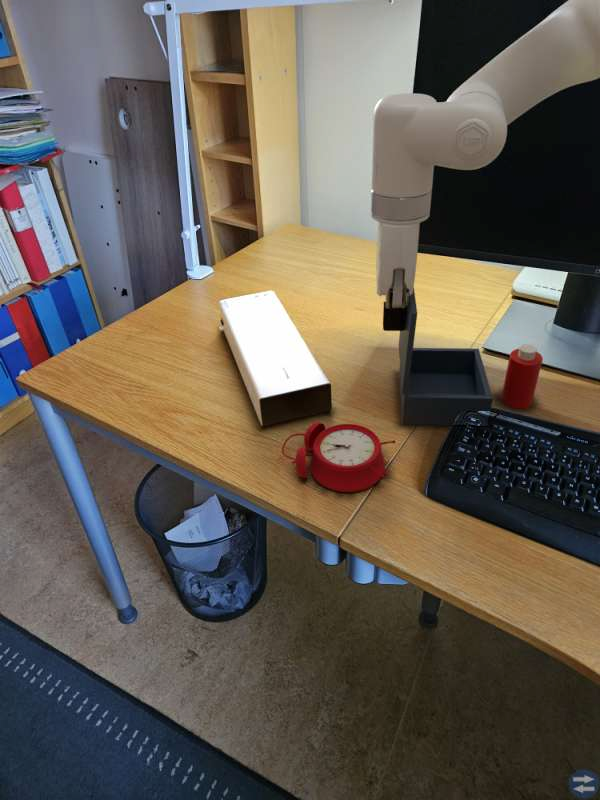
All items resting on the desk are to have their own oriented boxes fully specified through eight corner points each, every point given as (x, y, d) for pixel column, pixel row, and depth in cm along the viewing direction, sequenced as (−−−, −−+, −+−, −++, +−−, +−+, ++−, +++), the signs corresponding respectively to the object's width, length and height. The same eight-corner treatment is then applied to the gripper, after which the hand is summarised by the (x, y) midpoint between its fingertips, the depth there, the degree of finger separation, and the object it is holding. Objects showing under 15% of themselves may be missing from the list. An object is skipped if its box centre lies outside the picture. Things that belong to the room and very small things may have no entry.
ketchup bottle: (528, 391, 90) (540, 340, 84) (534, 409, 86) (548, 357, 81) (498, 391, 91) (509, 340, 85) (504, 408, 87) (515, 356, 81)
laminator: (332, 415, 88) (331, 383, 84) (256, 433, 85) (252, 400, 82) (276, 317, 114) (273, 289, 110) (216, 328, 112) (212, 300, 108)
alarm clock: (386, 482, 71) (276, 443, 73) (374, 512, 75) (269, 474, 77) (400, 430, 78) (300, 396, 80) (388, 460, 83) (293, 427, 84)
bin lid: (411, 269, 84) (406, 269, 84) (417, 313, 73) (411, 313, 74) (403, 345, 92) (398, 345, 92) (407, 394, 82) (401, 394, 82)
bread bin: (474, 375, 94) (478, 348, 91) (487, 426, 84) (493, 398, 81) (398, 373, 96) (400, 347, 93) (402, 424, 85) (404, 396, 82)
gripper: (371, 186, 78) (368, 304, 89) (371, 225, 66) (368, 355, 77) (426, 185, 77) (416, 304, 88) (435, 224, 65) (423, 355, 77)
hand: (393, 327), depth 83 cm, fingers closed
